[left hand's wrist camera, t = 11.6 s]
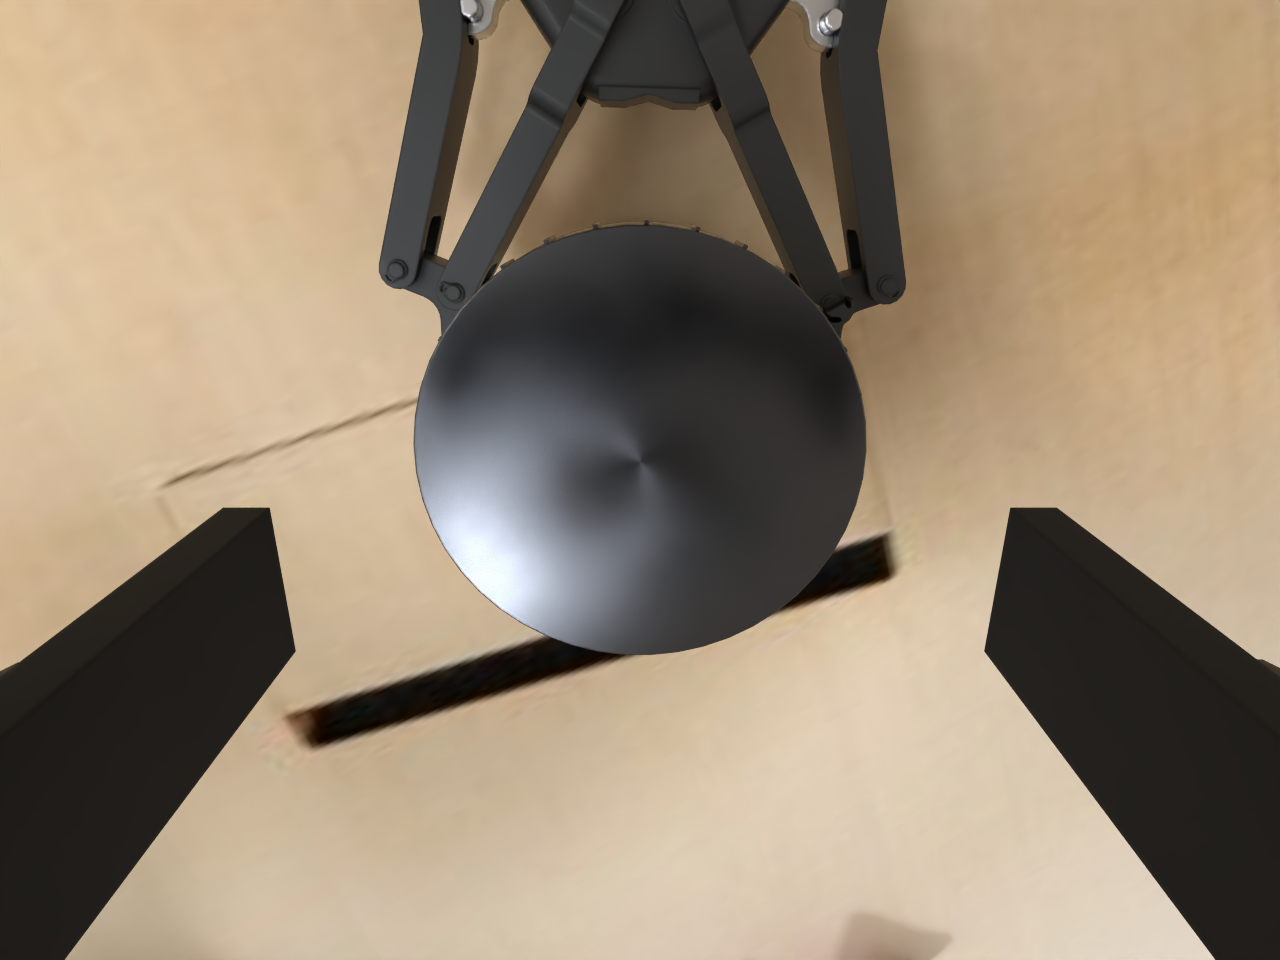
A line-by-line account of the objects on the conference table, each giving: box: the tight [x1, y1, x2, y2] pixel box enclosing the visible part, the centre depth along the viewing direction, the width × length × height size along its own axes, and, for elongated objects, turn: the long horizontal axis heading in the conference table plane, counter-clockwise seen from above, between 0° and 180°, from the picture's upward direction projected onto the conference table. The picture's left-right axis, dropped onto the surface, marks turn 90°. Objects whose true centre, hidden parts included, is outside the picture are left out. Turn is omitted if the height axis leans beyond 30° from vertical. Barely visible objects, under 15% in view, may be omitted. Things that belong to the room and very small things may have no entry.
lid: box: [414, 218, 866, 655], centre depth 20 cm, size 11×11×2 cm
